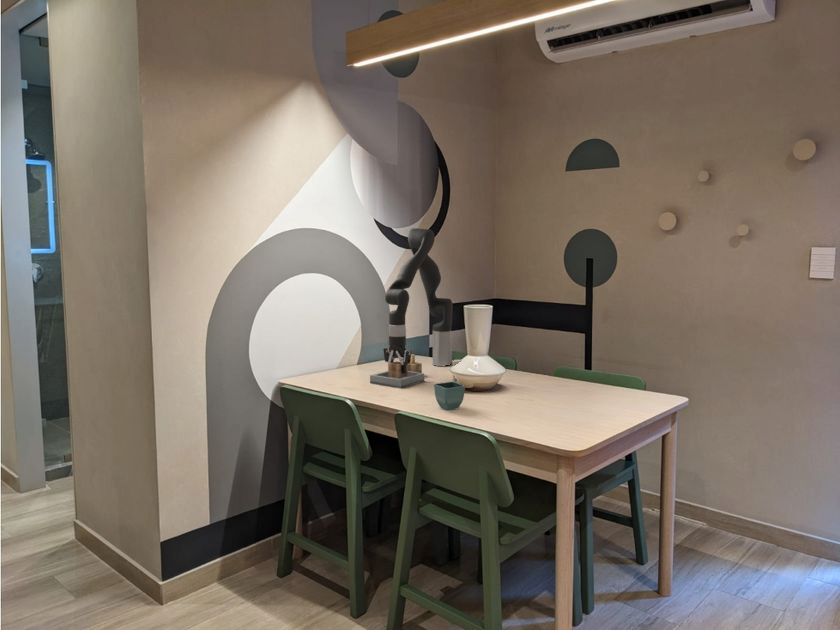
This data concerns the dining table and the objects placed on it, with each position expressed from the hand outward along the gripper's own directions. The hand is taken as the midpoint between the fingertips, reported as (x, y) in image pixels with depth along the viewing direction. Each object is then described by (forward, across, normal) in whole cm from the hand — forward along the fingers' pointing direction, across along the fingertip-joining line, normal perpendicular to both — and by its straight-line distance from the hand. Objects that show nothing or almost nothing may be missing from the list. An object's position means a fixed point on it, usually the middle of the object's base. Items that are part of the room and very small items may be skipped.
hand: (397, 372), depth 299 cm
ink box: (+5, -29, -8) cm, 30 cm away
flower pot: (+5, -43, +24) cm, 49 cm away
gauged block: (+4, +2, -14) cm, 15 cm away
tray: (+4, 0, 0) cm, 4 cm away
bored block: (+2, 0, 0) cm, 2 cm away
